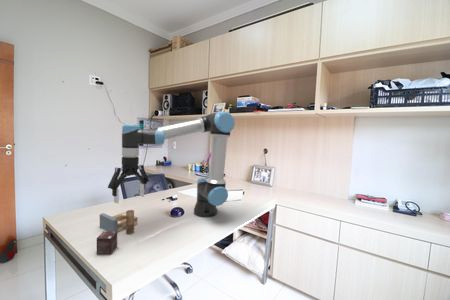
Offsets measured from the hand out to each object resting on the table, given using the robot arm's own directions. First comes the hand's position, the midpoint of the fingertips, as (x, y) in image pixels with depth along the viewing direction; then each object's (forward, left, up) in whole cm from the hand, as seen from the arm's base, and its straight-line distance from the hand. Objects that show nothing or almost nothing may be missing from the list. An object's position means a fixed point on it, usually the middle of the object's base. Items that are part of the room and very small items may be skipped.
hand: (129, 199), depth 103 cm
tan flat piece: (+11, -2, -17) cm, 20 cm away
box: (-5, +14, -18) cm, 24 cm away
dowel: (0, 0, -18) cm, 18 cm away
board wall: (+11, -6, -18) cm, 22 cm away
